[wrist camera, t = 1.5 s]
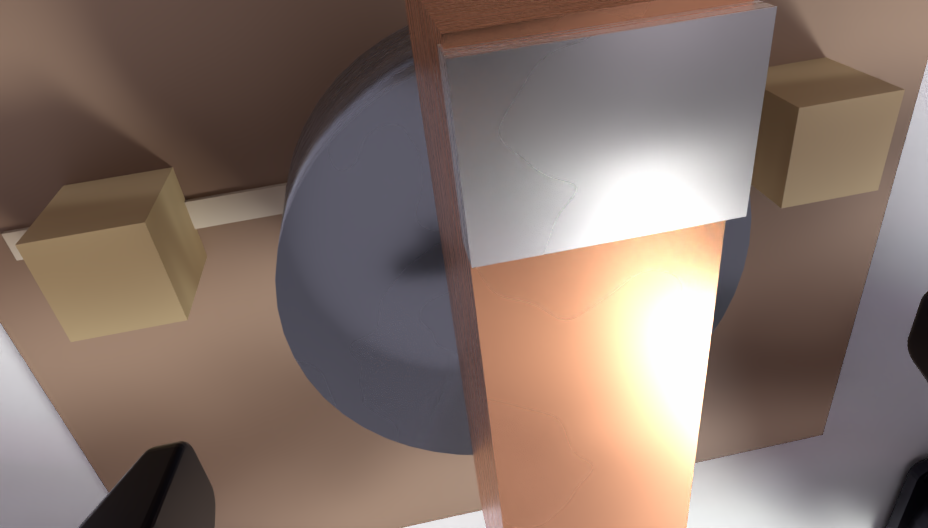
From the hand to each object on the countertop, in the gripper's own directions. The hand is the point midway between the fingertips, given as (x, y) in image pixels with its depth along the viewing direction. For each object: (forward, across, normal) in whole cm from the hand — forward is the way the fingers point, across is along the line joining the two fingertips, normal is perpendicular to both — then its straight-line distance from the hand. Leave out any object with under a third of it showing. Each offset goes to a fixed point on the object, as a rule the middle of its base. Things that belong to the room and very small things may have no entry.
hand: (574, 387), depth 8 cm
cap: (+4, 0, 0) cm, 4 cm away
